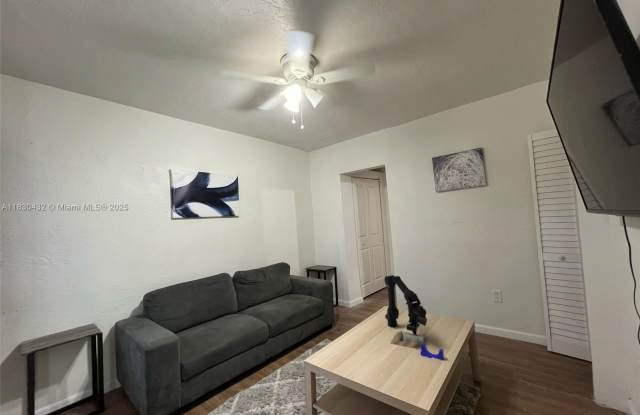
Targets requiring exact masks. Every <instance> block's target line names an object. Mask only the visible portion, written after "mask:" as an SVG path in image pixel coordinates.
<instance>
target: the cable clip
mask: <svg viewBox="0 0 640 415" xmlns="http://www.w3.org/2000/svg"><path fill="white" fill-rule="evenodd" d="M419 354H420V356H423V357H425V358H428V359H432V358H433V359H437V360H441V361H444V358H445V356H444V355H445V353H444V349H443V348H440V349H439V350H438V353H436V354H435V353H432V352H430V351H429V350H428V349H427V346H425V344H422V345H421V350H420V353H419Z"/></svg>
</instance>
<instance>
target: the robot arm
mask: <svg viewBox="0 0 640 415" xmlns="http://www.w3.org/2000/svg"><path fill="white" fill-rule="evenodd" d="M384 284H385V286H386V287H387V296H388V307H387V310H386V314H385V316H384V317H385V320H387V327H389V328H398V325H399V324H398V319H399V316H400V310H399V308H398V307H397V304H396V294H395V286H397V287H398V289H399V290H400V291H401V293H402V294H403V298H404V300H405V301H406V303H405V305H406V306H407V311H408V313H407V317H408V323H407V325H406V330H407V331H411V333H414V334H418V329H419V328H420V326H421V325H422V326H425V327H426V325H427V322H428V318H427V310H426V309H425V308H424V306H423V305H422V302H421V300H420V298H419V297H418V295H417V293H415V292H414V291H413V290H412V289H409V287H408V285H406V284H405V283H404V281H403V280H402V278H401V277H400V276H399V275H397V276H396V275H393V274H391V275H386V276H385V277H384Z"/></svg>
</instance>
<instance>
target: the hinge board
mask: <svg viewBox="0 0 640 415" xmlns="http://www.w3.org/2000/svg"><path fill="white" fill-rule="evenodd" d="M429 339H430V337H427V336H424V344H425V346H426V347H428V342H429ZM389 344H391V345H395V346H400V347H405V348H410V349H416V350H419V351H421V345H420V344H415V343H410V342H405V341H400V333H399V331H398V332H396V333H395V335H394V337H393V338H392V339H391V341H390V342H389Z"/></svg>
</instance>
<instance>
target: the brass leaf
mask: <svg viewBox="0 0 640 415" xmlns="http://www.w3.org/2000/svg"><path fill="white" fill-rule="evenodd" d="M402 332H403V333H405V334H411V335H417V336H422V337H423V341H424V337H425V336H424V334H419V333H417V334H414V333H413V332H407V331H402Z"/></svg>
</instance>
